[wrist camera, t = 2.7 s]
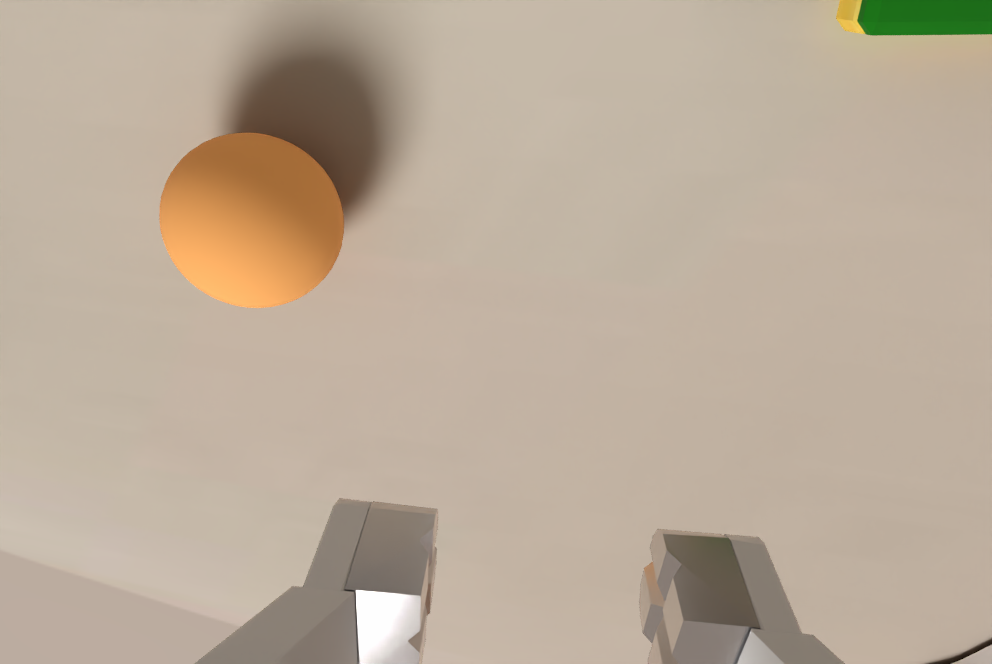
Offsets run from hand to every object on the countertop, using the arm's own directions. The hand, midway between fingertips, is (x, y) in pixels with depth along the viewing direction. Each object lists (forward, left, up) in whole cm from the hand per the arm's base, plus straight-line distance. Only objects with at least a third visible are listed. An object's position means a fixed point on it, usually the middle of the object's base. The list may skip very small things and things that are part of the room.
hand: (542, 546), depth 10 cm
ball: (0, +9, -12) cm, 15 cm away
